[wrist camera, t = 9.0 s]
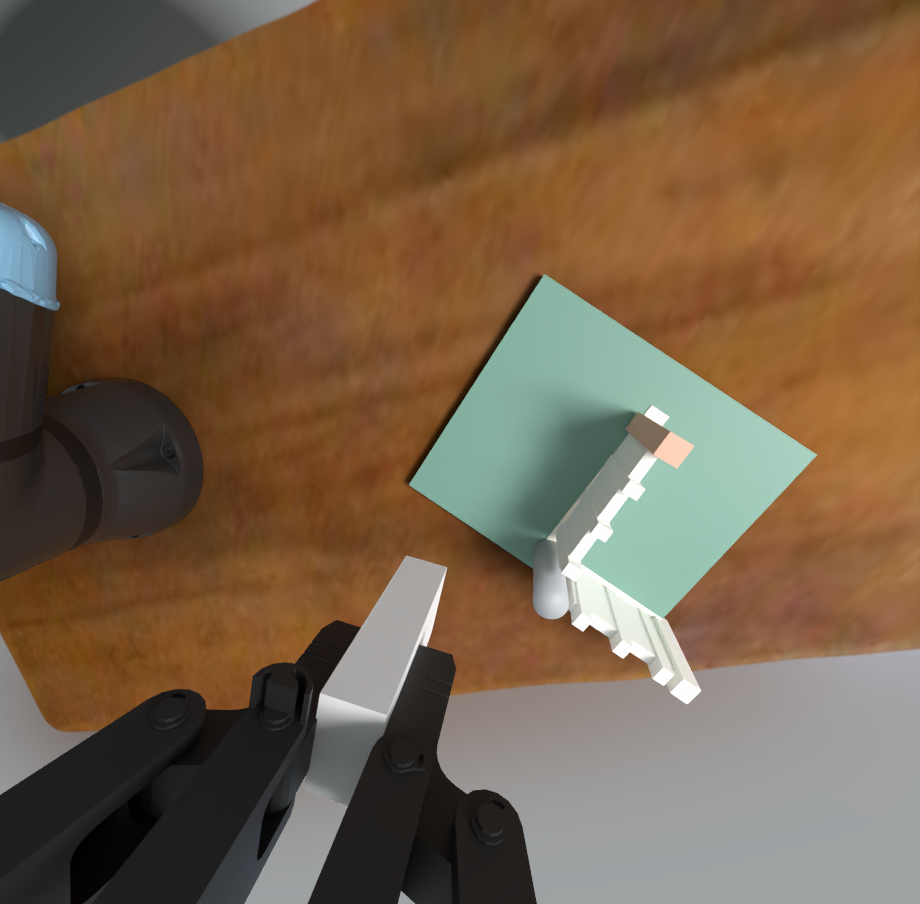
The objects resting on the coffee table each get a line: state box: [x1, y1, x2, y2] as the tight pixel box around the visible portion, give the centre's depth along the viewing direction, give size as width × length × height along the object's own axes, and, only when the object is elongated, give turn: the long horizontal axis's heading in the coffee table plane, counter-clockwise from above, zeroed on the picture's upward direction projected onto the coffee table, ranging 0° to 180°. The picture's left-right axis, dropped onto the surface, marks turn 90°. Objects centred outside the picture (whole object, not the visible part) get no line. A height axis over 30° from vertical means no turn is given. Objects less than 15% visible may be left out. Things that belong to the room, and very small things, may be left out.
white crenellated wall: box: [556, 412, 694, 582], centre depth 31 cm, size 12×2×8 cm, turn 150°
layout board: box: [409, 274, 817, 620], centre depth 36 cm, size 24×20×1 cm
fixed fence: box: [533, 539, 701, 704], centre depth 34 cm, size 13×2×8 cm, turn 57°
